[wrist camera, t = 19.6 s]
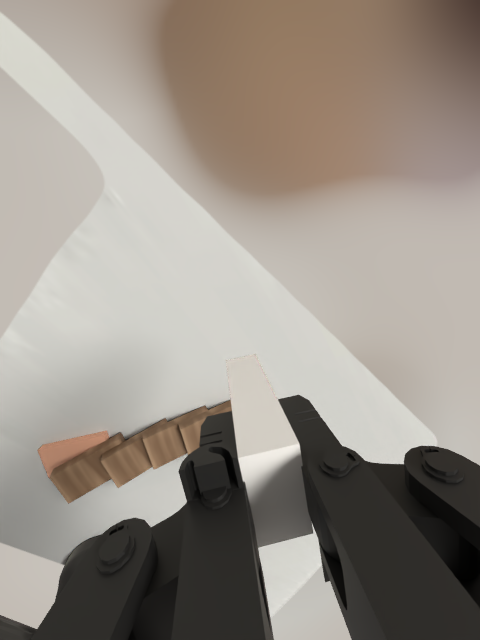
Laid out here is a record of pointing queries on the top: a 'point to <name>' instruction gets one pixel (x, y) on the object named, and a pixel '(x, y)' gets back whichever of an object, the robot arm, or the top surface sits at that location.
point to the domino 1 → (68, 449)
